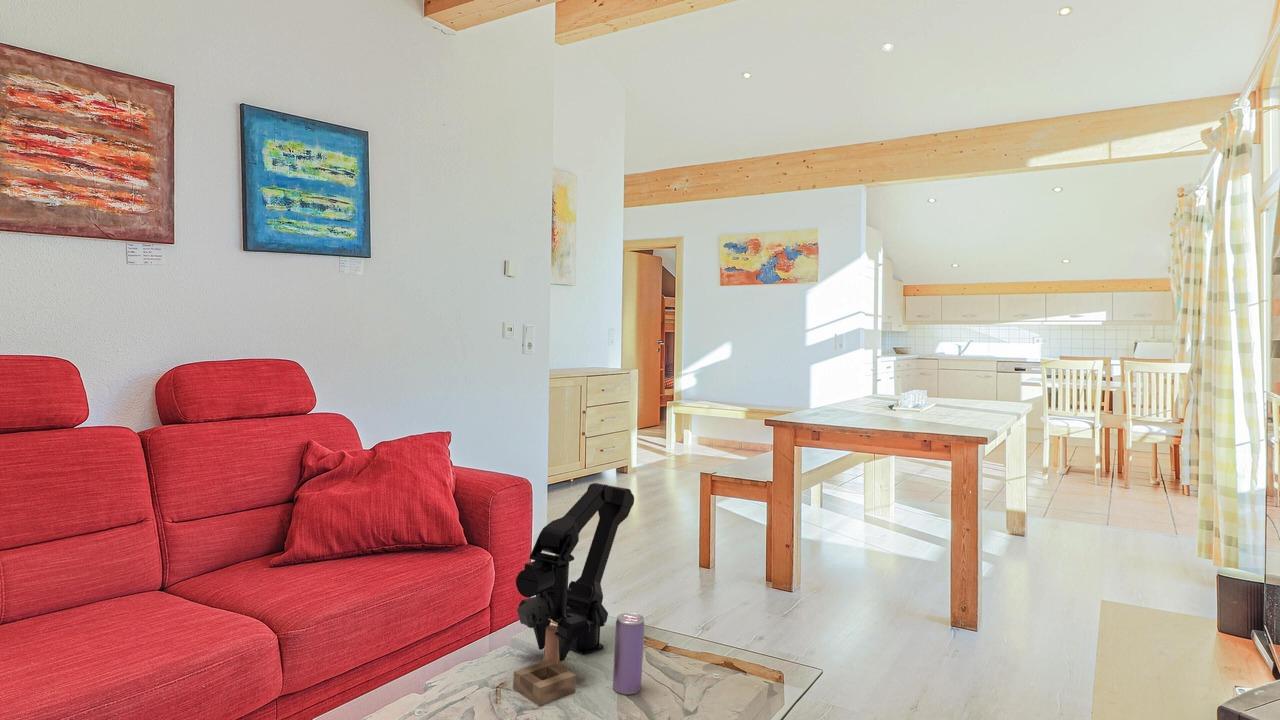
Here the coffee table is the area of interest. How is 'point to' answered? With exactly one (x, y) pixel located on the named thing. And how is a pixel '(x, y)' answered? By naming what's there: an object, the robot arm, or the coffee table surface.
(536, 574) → the robot arm
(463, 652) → the coffee table surface
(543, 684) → the socket
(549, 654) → the peg
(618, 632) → the beverage can
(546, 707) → the coffee table surface
